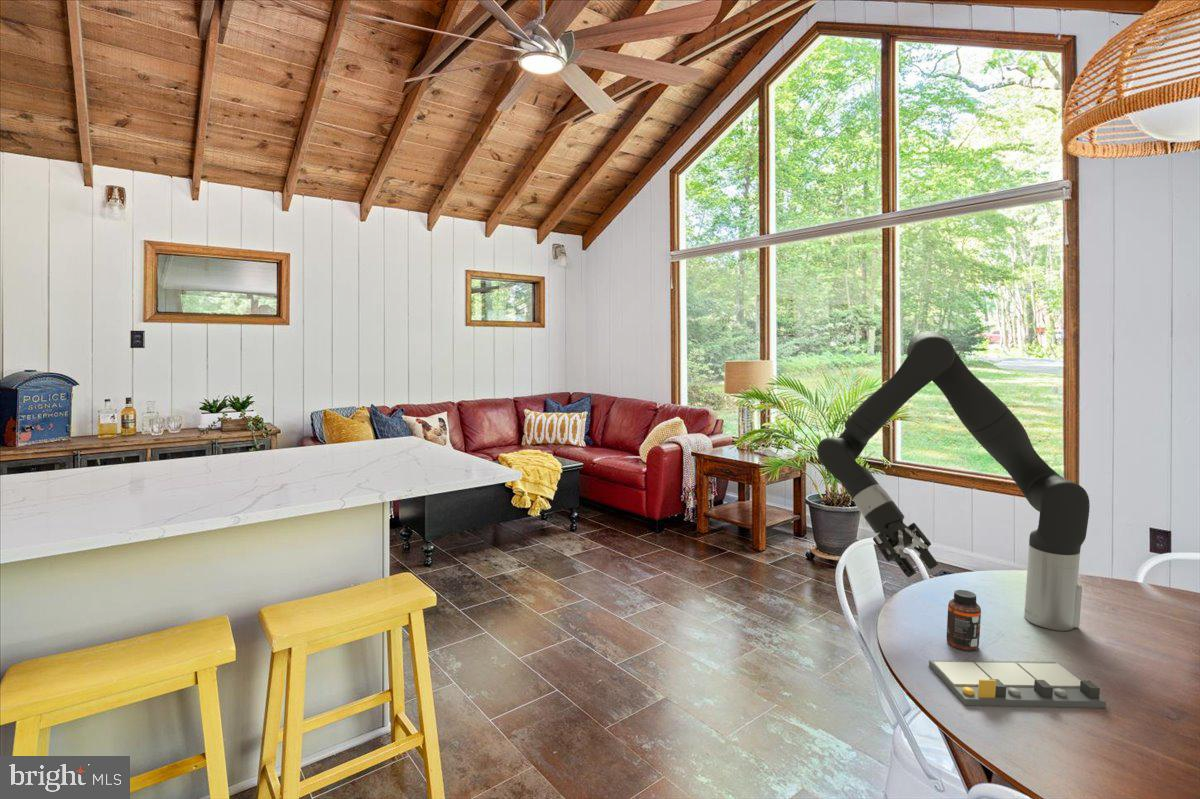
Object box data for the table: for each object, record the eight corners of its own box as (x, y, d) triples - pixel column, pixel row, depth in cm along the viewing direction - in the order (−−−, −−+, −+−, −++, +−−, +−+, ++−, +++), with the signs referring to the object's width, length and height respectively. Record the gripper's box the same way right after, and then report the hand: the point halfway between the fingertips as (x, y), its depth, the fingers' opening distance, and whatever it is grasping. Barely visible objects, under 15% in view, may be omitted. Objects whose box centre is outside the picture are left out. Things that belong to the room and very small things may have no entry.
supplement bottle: (983, 653, 125) (987, 600, 124) (952, 650, 126) (954, 598, 125) (972, 639, 131) (975, 588, 130) (942, 636, 132) (944, 586, 131)
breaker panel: (1054, 667, 120) (1055, 646, 119) (1105, 707, 107) (1107, 684, 106) (928, 665, 121) (929, 644, 120) (965, 705, 108) (966, 681, 107)
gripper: (870, 504, 137) (917, 570, 128) (906, 495, 144) (953, 556, 136) (848, 521, 142) (892, 586, 133) (885, 511, 149) (929, 572, 141)
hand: (923, 571), depth 135 cm, fingers open, 8 cm apart
